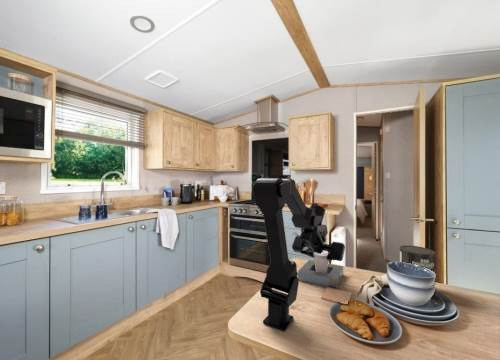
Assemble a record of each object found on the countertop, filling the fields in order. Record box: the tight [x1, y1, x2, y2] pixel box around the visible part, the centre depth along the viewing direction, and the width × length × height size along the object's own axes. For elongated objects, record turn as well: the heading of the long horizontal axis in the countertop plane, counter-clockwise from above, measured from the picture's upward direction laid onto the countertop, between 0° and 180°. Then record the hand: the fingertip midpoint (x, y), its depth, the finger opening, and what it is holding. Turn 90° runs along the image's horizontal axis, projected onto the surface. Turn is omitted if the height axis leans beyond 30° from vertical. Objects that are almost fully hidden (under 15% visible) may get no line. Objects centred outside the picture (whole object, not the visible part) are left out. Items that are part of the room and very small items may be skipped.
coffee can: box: [399, 245, 437, 274], centre depth 81 cm, size 10×10×14 cm
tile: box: [320, 287, 353, 304], centre depth 76 cm, size 8×8×1 cm
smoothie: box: [313, 250, 330, 274], centre depth 90 cm, size 6×6×14 cm
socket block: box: [297, 259, 344, 290], centre depth 90 cm, size 14×14×4 cm
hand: (322, 258), depth 91 cm, fingers closed on smoothie, 6 cm apart
